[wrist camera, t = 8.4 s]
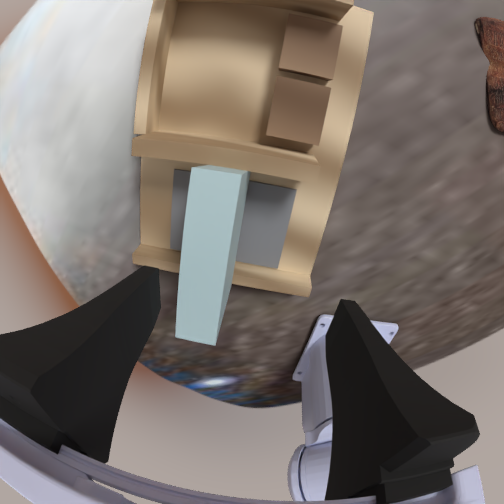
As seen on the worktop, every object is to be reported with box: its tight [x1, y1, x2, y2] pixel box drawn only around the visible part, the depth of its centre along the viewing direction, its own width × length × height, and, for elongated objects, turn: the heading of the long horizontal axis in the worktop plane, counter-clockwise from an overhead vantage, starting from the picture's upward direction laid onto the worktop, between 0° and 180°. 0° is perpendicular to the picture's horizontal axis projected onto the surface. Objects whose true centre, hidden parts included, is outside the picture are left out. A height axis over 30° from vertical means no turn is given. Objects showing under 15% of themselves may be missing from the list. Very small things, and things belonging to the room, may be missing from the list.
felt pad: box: [170, 169, 297, 269], centre depth 19 cm, size 6×8×1 cm
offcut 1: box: [279, 13, 343, 81], centre depth 13 cm, size 4×3×2 cm
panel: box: [175, 165, 251, 346], centre depth 15 cm, size 8×2×7 cm, turn 171°
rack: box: [132, 0, 374, 297], centre depth 15 cm, size 20×13×4 cm, turn 171°
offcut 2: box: [266, 76, 331, 146], centre depth 15 cm, size 4×3×2 cm
